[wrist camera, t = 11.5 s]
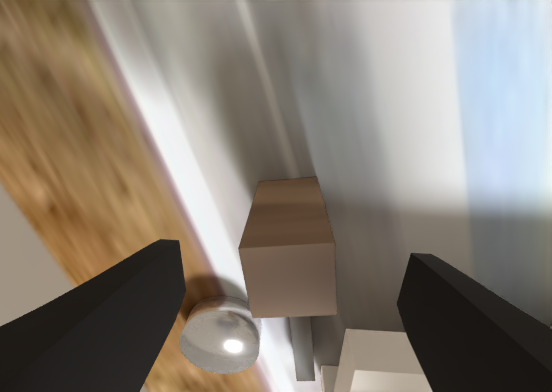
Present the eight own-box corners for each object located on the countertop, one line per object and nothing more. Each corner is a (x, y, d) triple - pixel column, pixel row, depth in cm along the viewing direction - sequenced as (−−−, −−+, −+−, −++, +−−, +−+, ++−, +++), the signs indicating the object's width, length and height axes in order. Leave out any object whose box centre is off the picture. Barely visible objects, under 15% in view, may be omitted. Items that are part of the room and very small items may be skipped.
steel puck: (266, 344, 19) (264, 372, 17) (200, 347, 19) (190, 374, 18) (256, 291, 17) (251, 316, 15) (182, 295, 18) (169, 320, 16)
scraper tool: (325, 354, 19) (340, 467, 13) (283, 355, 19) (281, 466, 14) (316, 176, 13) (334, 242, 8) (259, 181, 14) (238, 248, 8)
